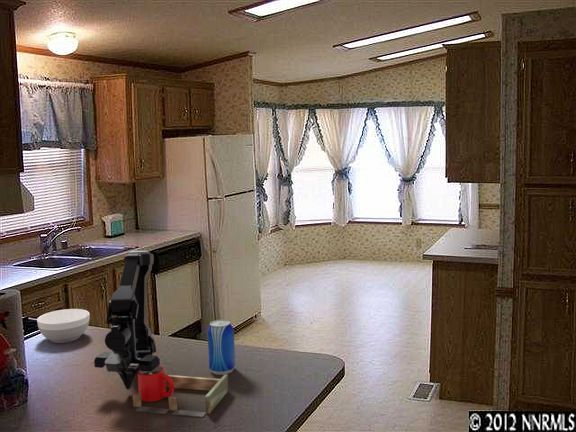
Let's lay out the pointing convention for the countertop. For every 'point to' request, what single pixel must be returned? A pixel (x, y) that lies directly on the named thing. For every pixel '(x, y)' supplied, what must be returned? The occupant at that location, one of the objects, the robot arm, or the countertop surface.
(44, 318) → the bowl
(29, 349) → the countertop surface
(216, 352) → the beer can
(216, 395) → the wooden box
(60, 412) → the countertop surface
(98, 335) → the countertop surface
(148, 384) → the mug
